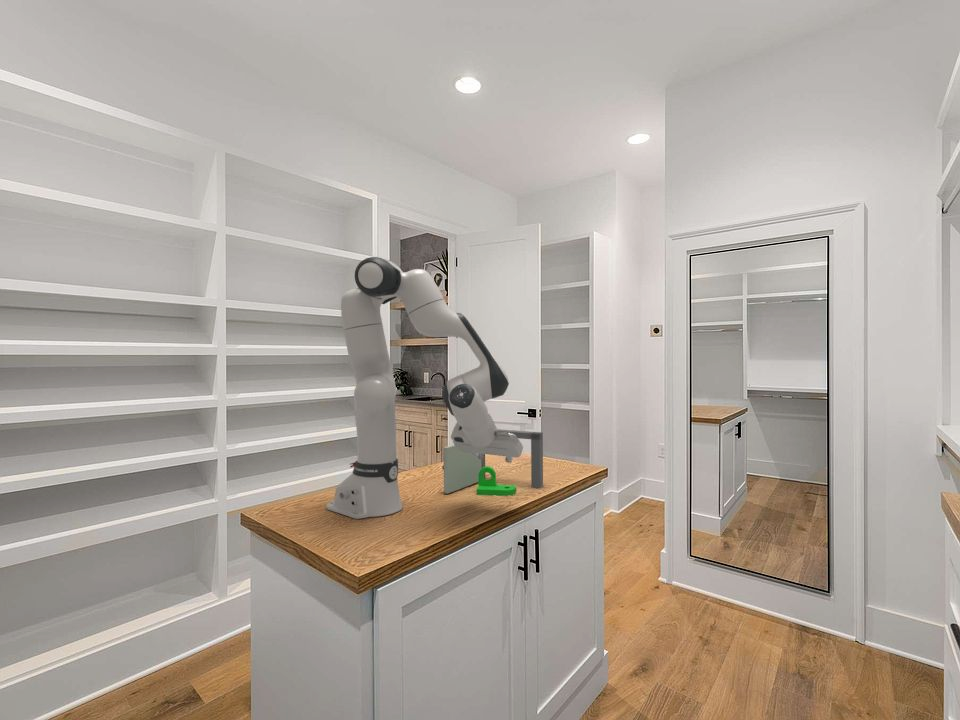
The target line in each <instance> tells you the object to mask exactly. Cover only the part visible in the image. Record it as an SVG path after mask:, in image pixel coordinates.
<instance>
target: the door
mask: <svg viewBox="0 0 960 720" xmlns="http://www.w3.org/2000/svg"><path fill="white" fill-rule="evenodd" d="M442 449H443V452H442V454H443V460H442V461H443V465H442V470H443V494H447V495H448V494H450V493H452V492H453V493H454V492H456V491H458V490H461V489H463V488H466V487H469V486H471V485H473V484H477V483H478V474H479V472H480V470H481V459H477V457H476V456H475V455H473V454H472V453H471V452H462V451H459V450H458V449H457V448H456V447H455V445H454V444H451V445H448V446H447V445H446V446H443V448H442Z"/></svg>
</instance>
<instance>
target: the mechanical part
mask: <svg viewBox="0 0 960 720" xmlns="http://www.w3.org/2000/svg"><path fill="white" fill-rule="evenodd" d="M484 473H485V474H486V473H488V474H489V475H490V478H489V479H487V478H486V477H485V478H484V476H483V474H484ZM477 483H478V486H477V487H476V495H477V496H493V495H496V497H497V496H498V497H509V496H508V495H511V496H514V495H516V493H515V492H517V485H516V484H498V483H497V472H496V470H495V469H494V467H492V466H490V465H485V467H483V468H482V469H481V470H480V472H479V474H478V482H477ZM513 494H514V495H513Z"/></svg>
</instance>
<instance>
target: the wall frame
mask: <svg viewBox="0 0 960 720" xmlns="http://www.w3.org/2000/svg"><path fill="white" fill-rule="evenodd" d="M497 432H508V433H512V434H514V435H516V436H517V438H518V439H519V440H520V439H521V440H522V439H523V440H530V449H531V450H530V457H531V458H530V463H531V465H530V466H531V467H530V469H531V471H530V473H531V474H530V475H531V476H530V477H531V478H530V481H531V482H530V483H531V488H532V487H533V489H539V488H540V489H542V488H543V487H544V446H543V445H544V439H543V438H544V436H543V432H541V431H529V430H527V431H526V430H513V429H512V430H509V429H500V428H499V429H498V428H497ZM485 466H486V454H484V457H483V459H481V469H482V468H483V467H485ZM483 476H484V478H485V479H486V473H484V474H483ZM542 486H543V487H542Z"/></svg>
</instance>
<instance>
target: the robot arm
mask: <svg viewBox="0 0 960 720" xmlns="http://www.w3.org/2000/svg"><path fill="white" fill-rule="evenodd" d="M354 281H355V284H356V286H357V287H356V288H352V289H349V290H348V291H345V293H344V294H343V295H342V297H341V299H340V300H341V301H340V315H341V323H342V330H343V335H344V340H345V343H346V344H345V345H346V350H347V355H348V359H349V361H350V365H351V367H352V372H353V375H354V379H355V383H356V386H355V388H354V390H353V391H354V392H353V401H354V417H355V427H356V447H357V448H356V450H357V453H356V454H357V455H356V456H357V459H356V461H354V462H351V463H349V465H350V466H349V468H353V470H352V473H351V474H350V475H348V477H346V478H345V479H344V480H342V482H340V483H338V485H337V486H336V488H335V491H334V499H332V500H330V501H329V502H328V503H327V504H326V506H325V509H326V510H329V511H331V512H334V513H337V514H340V515H343V516H347V517H349V518H352V519H355V520H358V519H365V518H375V517H383V516H387V515H388V516H389V515H392V514H396V513H398V512H400V511H401V510H402V509H403V507H404V506H403V502H402V499H401V495H400V489H399V482H398V476H399V475H398V474H399V460H398V458H397V429H396V403H395V402H396V401H395V400H396V397H397V396H396V395H397V387H396V381H395V378H394V373H393V367H392V364H391V363H392V362H391V359H390V355H389V351H388V345H387V342H386V341H387V340H386V335H385V332H384V331H385V330H384V326H383V325H384V324H383V321H382V320H383V319H382V316H381V306H382V305H385V304H387V303H389V302H391V301H393V300H394V299H397V298H398V299H399V300H400V301H401V303H402V305H403V306H404V309H405V311H406V313H407V315H408V317H409V319H410V322H411V323H412V325H413V327H414V328H415V329H414V330H415V331H416V332H417V333H419V334H420V335H422V336H425V337H428V338H450V337H452V338H458V339H459V338H460V339H462V340H463V341H464V342H465V343H467V345H468V346H469V348H470V350H471V351H472V353H473V354H474V356H475V357H476V359H477V360H478V362H479V366H478V367H476V368H474V369H471V370H469V371H466V372H464V373H462V374H459V375H456V376H454V377H453V378H449V379H448V380H447V381H446V382H445V384H444V385H443V388H442V393H441V394H442V399H443V402H444V404H445V406H446V408H447V410H448V411H449V413H450V415H451V416H452V417H454V418H455V420H456V423H455V425H454V427H453V429H452V433H451V435H450V439H451V440H452V443H453V445H455V447H456V448H457V449H458V450H459V451H462V452H471V453H472V454H473V455H475V456H476V457H477V459H483V457H484V454H485V455H491V456H498V457H499V456H500V457H505V459H504V460H505V463H510V464H511V463H512V462H513V460H514V459H513V458H517V459H518V458H520V457H521V455H522V453H523V449H524V445H523V444H522V442H521V441H520V438H517V436H516V435H514V434H512V433H508V432H497V429H498V428H497V426H496V424H495V422H494V420H493V417H492V416H491V414H490V413H489V410H488V406H487V405H486V403H485V402H487V401H489V400H493V399H496V398H499V397H501V396H504V394H505V393H506V392H507V389H508V387H509V384H510V382H509V378H508V374H506V371H505V370H504V368H503V367H502V366H501V365H500V364H499V362H497V361H496V359H494V356H493V354H491V352H490V351H489V349H488V347H487V346H486V344H485V342H484V341H483V340H482V338H481V337H480V335H479V334H478V333H477V331H476V330H475V328H474V327H473V326H472V324H471V323H470V321H469V320H468V319H467V318H466V316H465V315H464V314H462V313H461V312H455V311H454V310H453V309H451V308H450V306H448V304H447V302H446V300H445V298H444V295H443V294H442V292H441V290H440V288H439V287H438V285H437V284H436V282H435V280H434V279H433V277H432V275H431V274H430V273H429V272H428V271H427V270H425V269H422V268H414V269H410V270H409V271H406V272H405V271H404V269H403V268H402V267H401V266H400V265H398V264H396V263H395V262H393V261H391V260H390V259H386V258H382V257H378V256H371V257H366V258H364V259H363V260H361V261H360V262H359V263H358V264H357V266H356V268H355V270H354Z"/></svg>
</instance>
